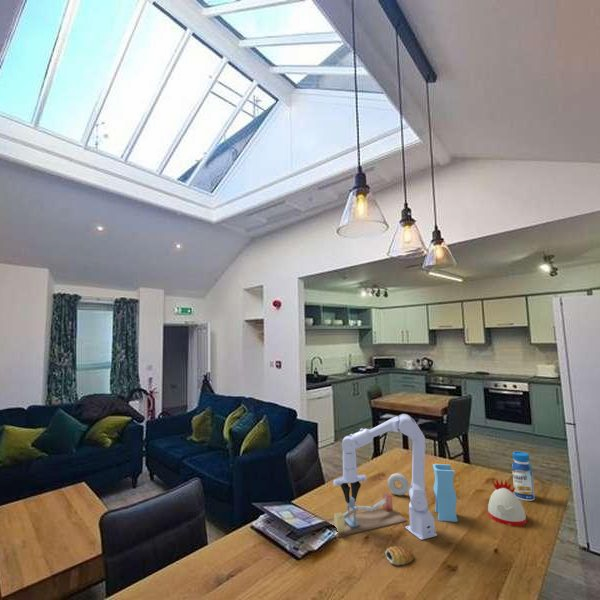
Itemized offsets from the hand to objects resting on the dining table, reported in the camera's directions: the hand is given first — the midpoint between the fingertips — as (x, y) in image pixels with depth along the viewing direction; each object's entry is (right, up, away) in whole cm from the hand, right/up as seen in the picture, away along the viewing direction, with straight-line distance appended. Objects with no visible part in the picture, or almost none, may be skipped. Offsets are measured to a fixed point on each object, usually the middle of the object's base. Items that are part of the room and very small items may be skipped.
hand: (350, 501), depth 143 cm
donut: (+27, -12, +25) cm, 39 cm away
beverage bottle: (+86, -10, +21) cm, 89 cm away
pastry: (+13, -7, -24) cm, 28 cm away
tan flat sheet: (+6, -9, +1) cm, 11 cm away
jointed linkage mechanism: (+6, -9, +1) cm, 11 cm away
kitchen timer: (+66, -9, +3) cm, 67 cm away
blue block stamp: (0, -8, -1) cm, 8 cm away
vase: (+41, -9, +4) cm, 43 cm away
